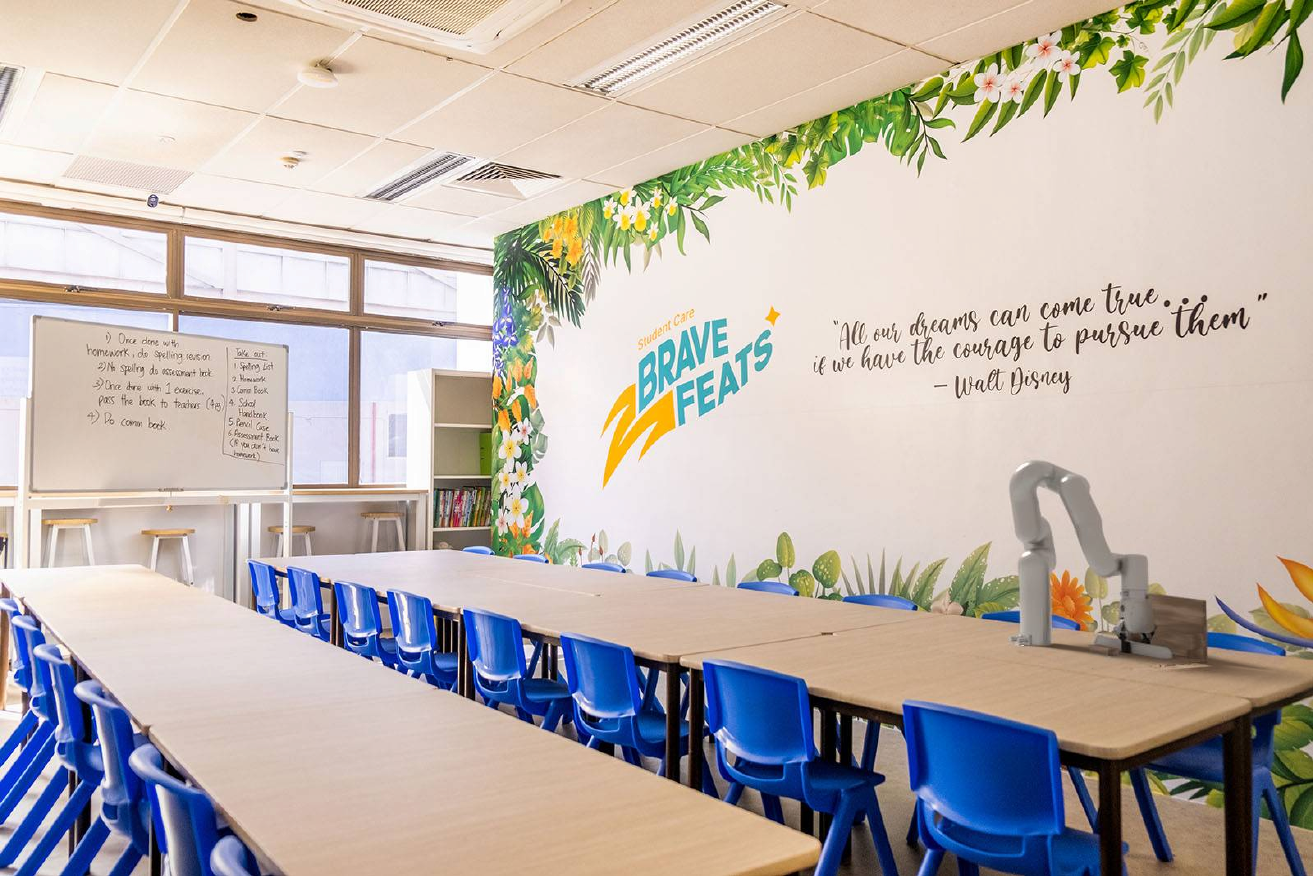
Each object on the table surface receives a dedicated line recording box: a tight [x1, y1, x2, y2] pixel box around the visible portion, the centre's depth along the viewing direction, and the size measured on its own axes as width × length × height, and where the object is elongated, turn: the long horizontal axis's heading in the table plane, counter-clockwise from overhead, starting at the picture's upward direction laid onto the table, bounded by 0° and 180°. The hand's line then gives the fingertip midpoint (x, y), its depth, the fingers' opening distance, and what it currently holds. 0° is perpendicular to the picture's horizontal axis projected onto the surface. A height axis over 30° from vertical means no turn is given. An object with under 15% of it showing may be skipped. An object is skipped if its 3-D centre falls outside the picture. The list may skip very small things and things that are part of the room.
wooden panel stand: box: [1117, 592, 1208, 661], centre depth 310 cm, size 6×28×18 cm, turn 19°
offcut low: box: [1087, 650, 1125, 658], centre depth 303 cm, size 5×10×2 cm, turn 20°
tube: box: [1093, 634, 1174, 660], centre depth 307 cm, size 5×5×25 cm
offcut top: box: [1088, 644, 1120, 657], centre depth 304 cm, size 4×8×2 cm, turn 17°
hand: (1135, 653), depth 307 cm, fingers open, 6 cm apart
